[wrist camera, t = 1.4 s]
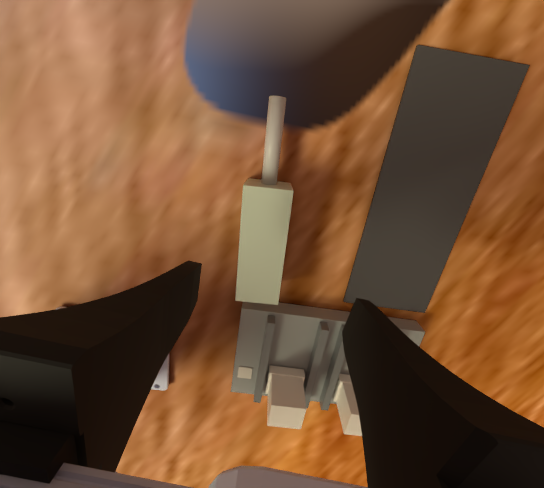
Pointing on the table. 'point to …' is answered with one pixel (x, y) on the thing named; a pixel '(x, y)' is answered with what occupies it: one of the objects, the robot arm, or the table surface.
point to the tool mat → (431, 173)
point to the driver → (265, 220)
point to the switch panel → (296, 347)
